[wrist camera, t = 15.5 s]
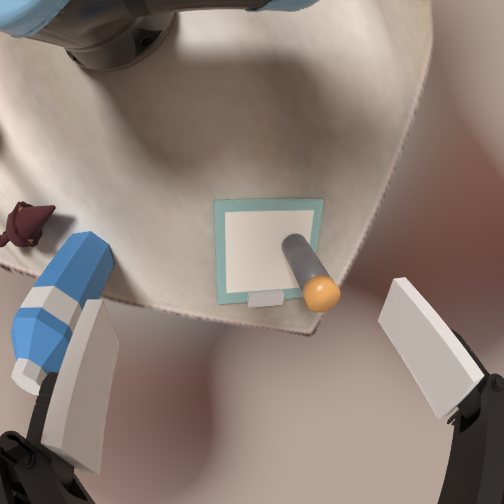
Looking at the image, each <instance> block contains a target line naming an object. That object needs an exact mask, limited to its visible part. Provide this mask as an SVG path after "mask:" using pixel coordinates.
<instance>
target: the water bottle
mask: <svg viewBox="0 0 504 504" xmlns="http://www.w3.org/2000/svg"><path fill="white" fill-rule="evenodd" d="M113 265H114V261H113V258H112V254H111V251H110V247H109V244H108V243H106V242H105V241H103V240H102V239H101V238H99V237H98V236H96V235H95V234H94V233H92V232H91V231H90V232H83V233H76V234H72V235H71V236H70V237H69V239H68V240H67V241H66V242H65V244H64V245H63V246H62V248H61V249H60V250H59V251H58V253H57V254H56V255H55V257H54V258H53V259H52V261H51V262H50V263H49V265H48V266H47V268H46V269H45V270H44V272H43V273H42V275H41V276H40V277H39V279H38V280H37V282H36V283H35V285H34V286H33V288H32V289H31V291H30V292H29V294H28V295H27V297H26V299H25V300H24V302H23V303H22V305H21V307H20V308H19V310H18V312H17V313H16V315H15V317H14V320H13V325H12V330H11V337H12V342H13V348H14V353H15V357H16V361H17V362H16V364H15V367H14V370H13V372H12V379H13V380H14V381H15V382H16V383H17V384H18V386H20V387H21V388H23V389H24V390H26V391H27V392H29V393H31V394H34V395H39V390H40V387H41V384H42V381H43V380H44V379H45V377H46V376H47V375H48V373H49V372H56V373H59V371H60V368H61V365H62V362H63V359H64V356H65V354H66V351H67V348H68V345H69V343H70V340H71V337H72V335H73V332H74V330H75V327H76V325H77V322H78V320H79V317H80V315H81V313H82V310H83V308H84V306H85V303H86V301H87V300H98V299H99V298H100V295H101V293H102V291H103V288H104V286H105V284H106V281H107V279H108V277H109V274H110V272H111V270H112V268H113Z"/></svg>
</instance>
